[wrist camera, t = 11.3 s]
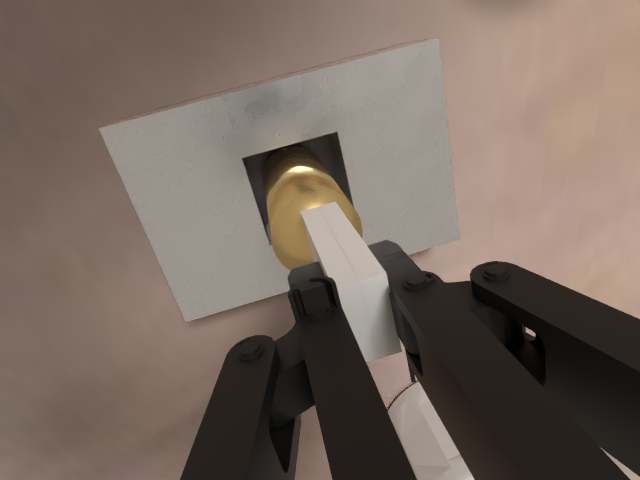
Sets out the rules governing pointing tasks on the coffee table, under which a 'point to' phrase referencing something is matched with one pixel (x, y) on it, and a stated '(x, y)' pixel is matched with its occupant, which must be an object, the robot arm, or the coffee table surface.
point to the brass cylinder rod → (299, 201)
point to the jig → (267, 138)
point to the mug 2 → (426, 438)
